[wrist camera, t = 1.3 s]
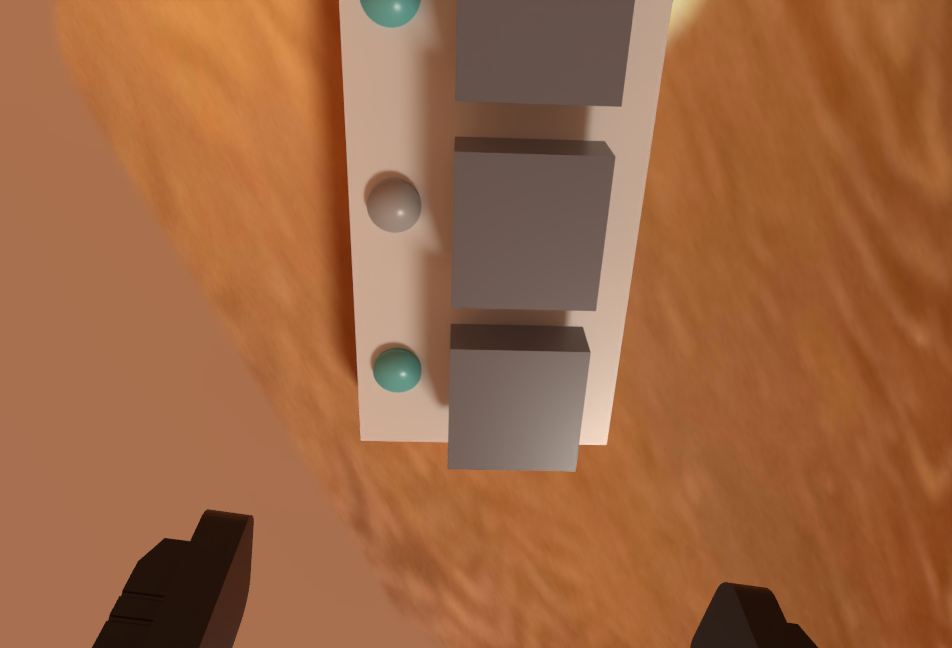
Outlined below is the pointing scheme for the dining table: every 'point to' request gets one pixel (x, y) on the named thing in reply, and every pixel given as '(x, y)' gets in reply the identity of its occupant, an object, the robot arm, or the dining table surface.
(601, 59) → the front key
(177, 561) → the robot arm
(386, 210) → the keypad
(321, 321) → the dining table surface
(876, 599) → the dining table surface
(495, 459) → the back key
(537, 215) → the middle key
